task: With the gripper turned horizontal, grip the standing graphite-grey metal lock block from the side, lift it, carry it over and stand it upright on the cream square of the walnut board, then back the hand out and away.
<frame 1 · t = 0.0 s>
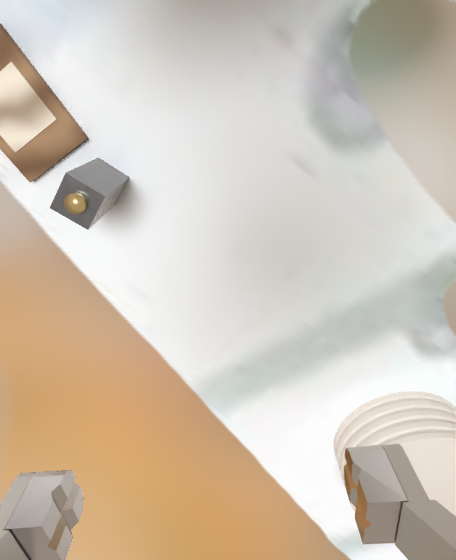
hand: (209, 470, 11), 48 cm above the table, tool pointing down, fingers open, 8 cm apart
walnut board: (18, 109, 49), on the table
plate stack: (396, 437, 80), on the table
lock block: (106, 181, 54), on the table
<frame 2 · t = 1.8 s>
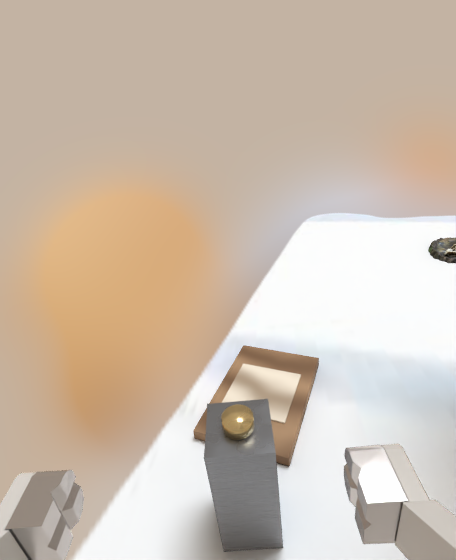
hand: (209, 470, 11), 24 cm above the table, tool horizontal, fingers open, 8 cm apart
walnut board: (262, 398, 45), on the table
lock block: (251, 518, 33), on the table
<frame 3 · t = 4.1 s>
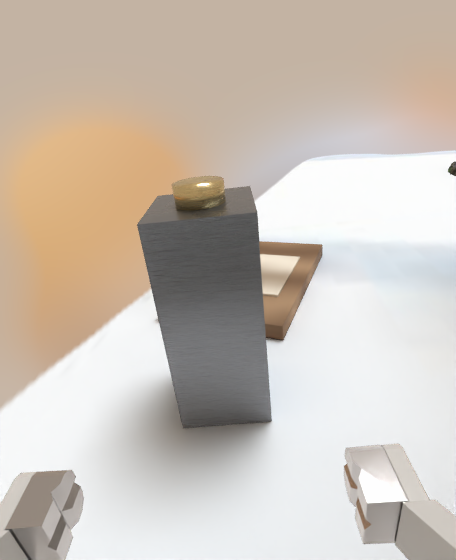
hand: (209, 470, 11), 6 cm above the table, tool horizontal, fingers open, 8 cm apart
walnut board: (250, 283, 35), on the table
lock block: (227, 392, 22), on the table
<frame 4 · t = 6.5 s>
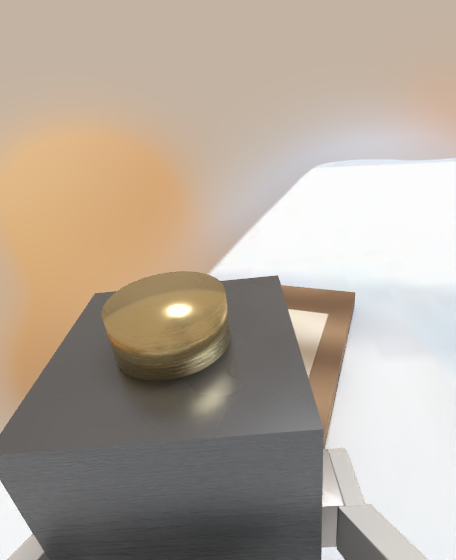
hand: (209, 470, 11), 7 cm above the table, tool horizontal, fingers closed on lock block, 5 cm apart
walnut board: (261, 353, 26), on the table
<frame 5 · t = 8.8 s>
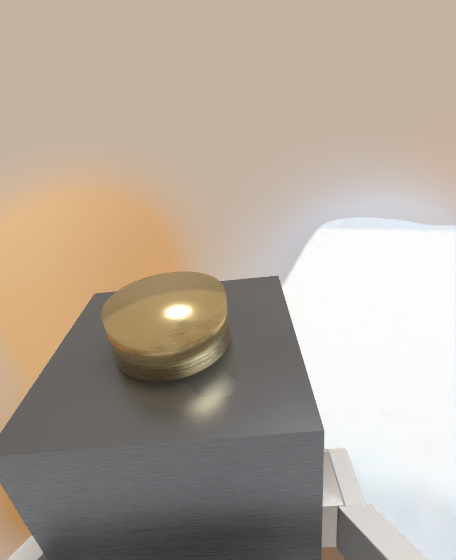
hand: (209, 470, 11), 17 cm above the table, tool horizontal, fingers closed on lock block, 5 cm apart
when the fingers open (9 cm above the table, at t = 10.9 s): lock block drops 1 cm, resting on walnut board.
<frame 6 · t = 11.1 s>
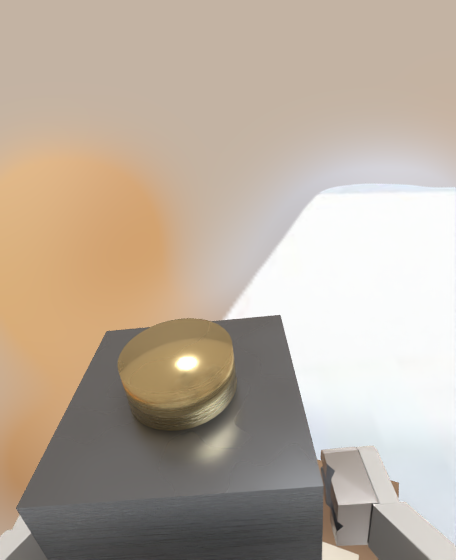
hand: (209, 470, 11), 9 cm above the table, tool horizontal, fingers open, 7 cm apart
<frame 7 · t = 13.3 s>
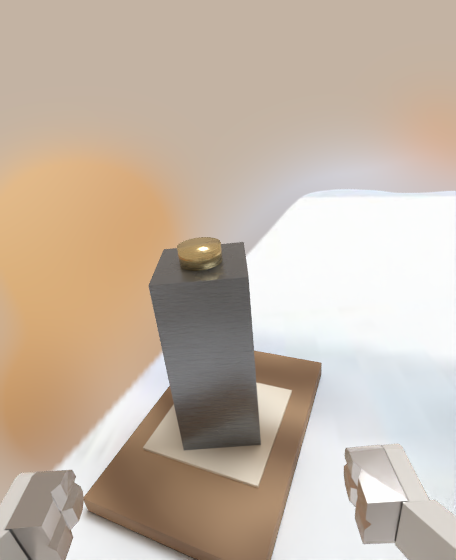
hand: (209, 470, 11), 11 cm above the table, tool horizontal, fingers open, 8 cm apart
walnut board: (224, 431, 26), on the table
lock block: (222, 417, 25), point 1 cm above the table, touching walnut board
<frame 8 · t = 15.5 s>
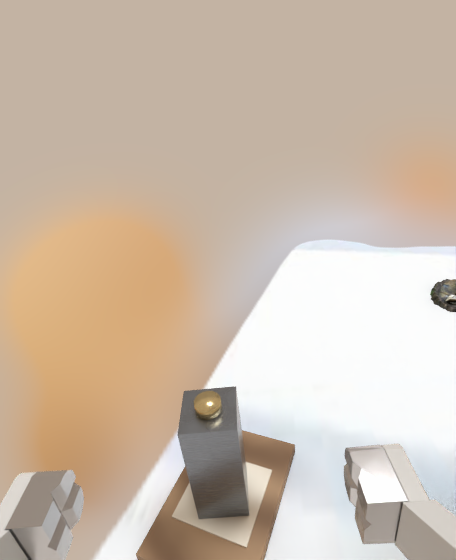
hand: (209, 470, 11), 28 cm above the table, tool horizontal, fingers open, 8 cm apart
walnut board: (225, 500, 38), on the table
lock block: (224, 492, 37), point 1 cm above the table, touching walnut board
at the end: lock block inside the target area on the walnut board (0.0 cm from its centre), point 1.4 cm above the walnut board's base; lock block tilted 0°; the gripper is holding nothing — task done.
